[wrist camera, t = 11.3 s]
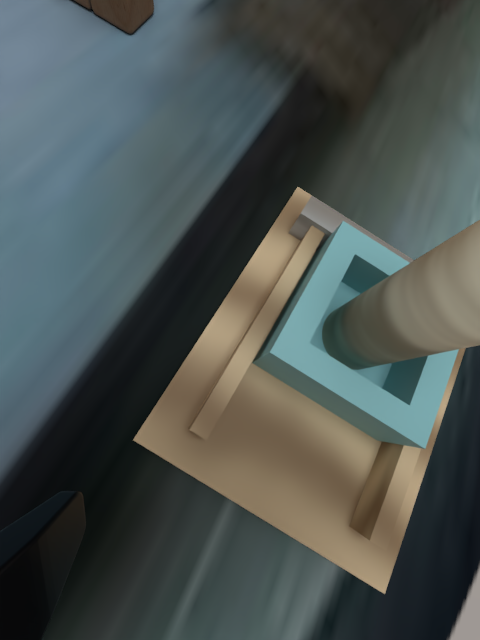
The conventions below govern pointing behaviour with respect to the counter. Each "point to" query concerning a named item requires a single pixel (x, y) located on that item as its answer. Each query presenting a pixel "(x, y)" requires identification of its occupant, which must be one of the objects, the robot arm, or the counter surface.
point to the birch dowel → (413, 309)
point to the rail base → (287, 420)
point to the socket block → (334, 377)
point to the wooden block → (121, 12)
